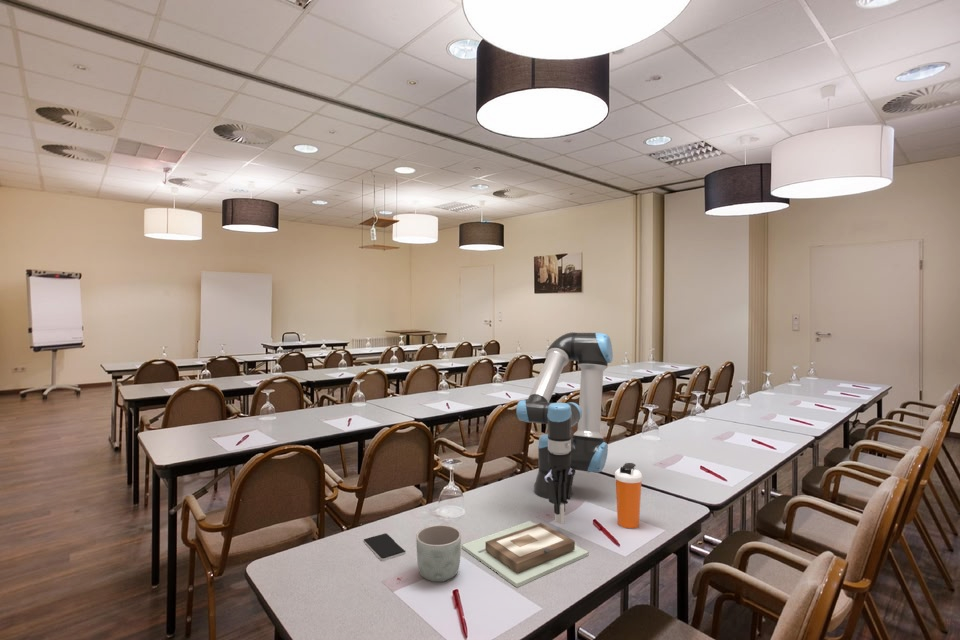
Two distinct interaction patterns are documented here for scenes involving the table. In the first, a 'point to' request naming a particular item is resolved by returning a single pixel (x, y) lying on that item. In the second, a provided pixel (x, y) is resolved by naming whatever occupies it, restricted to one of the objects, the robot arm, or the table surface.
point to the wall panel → (527, 575)
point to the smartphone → (384, 547)
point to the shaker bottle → (628, 495)
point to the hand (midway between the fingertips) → (559, 522)
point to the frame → (529, 547)
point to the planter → (438, 552)
